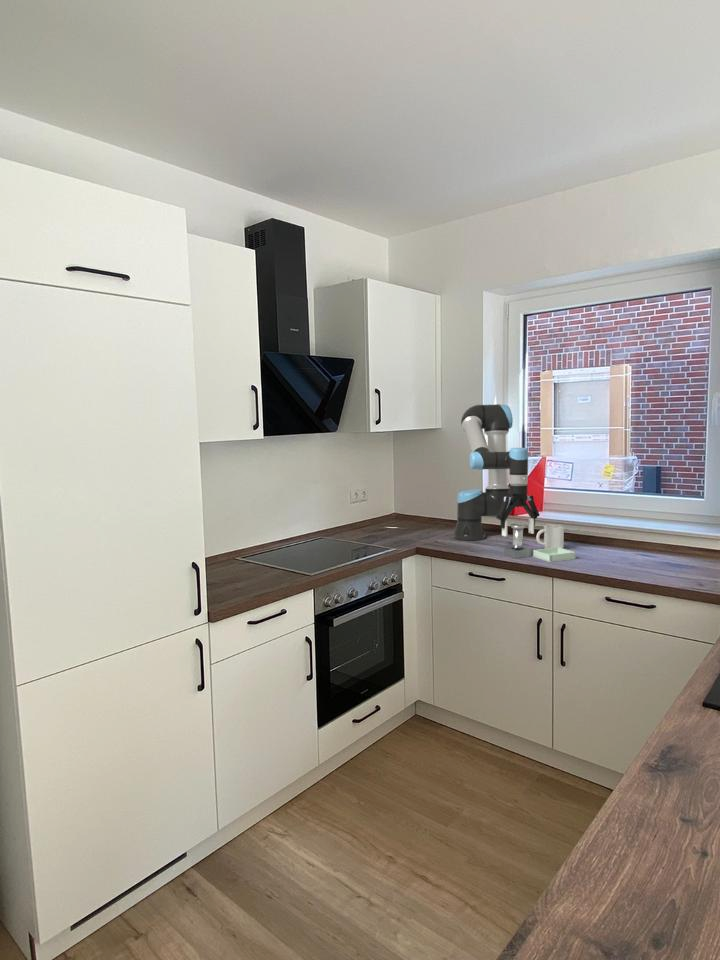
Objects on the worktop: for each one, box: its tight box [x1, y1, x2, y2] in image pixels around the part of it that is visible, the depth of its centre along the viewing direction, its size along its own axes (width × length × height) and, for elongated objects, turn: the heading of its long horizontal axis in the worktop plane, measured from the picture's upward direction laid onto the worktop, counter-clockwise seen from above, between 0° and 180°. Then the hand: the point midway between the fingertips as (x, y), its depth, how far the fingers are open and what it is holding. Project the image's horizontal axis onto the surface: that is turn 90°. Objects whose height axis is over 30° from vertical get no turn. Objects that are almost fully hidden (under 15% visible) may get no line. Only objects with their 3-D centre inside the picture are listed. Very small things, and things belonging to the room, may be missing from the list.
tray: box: [532, 547, 577, 563], centre depth 257 cm, size 11×13×3 cm
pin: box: [510, 523, 526, 550], centre depth 262 cm, size 6×6×13 cm
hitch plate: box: [503, 546, 532, 559], centre depth 262 cm, size 8×8×3 cm
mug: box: [535, 523, 565, 549], centre depth 274 cm, size 12×8×10 cm
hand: (517, 534), depth 261 cm, fingers open, 13 cm apart
